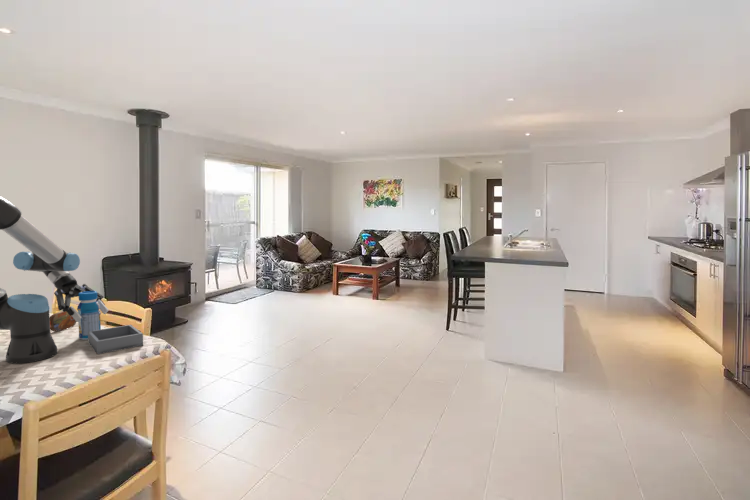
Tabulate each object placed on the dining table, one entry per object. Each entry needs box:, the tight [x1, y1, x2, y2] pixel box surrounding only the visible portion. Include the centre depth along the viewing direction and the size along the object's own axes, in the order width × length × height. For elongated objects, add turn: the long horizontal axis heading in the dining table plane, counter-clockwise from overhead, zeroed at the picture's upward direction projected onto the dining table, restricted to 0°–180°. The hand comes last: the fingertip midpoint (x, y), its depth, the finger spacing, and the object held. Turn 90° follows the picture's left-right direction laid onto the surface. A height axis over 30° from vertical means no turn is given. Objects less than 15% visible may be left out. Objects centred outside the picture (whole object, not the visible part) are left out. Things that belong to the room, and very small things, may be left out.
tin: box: [49, 310, 77, 332], centre depth 196 cm, size 15×3×8 cm, turn 179°
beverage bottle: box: [76, 290, 102, 341], centre depth 183 cm, size 8×8×20 cm
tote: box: [87, 324, 144, 355], centre depth 175 cm, size 18×16×5 cm
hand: (93, 315), depth 182 cm, fingers open, 13 cm apart
